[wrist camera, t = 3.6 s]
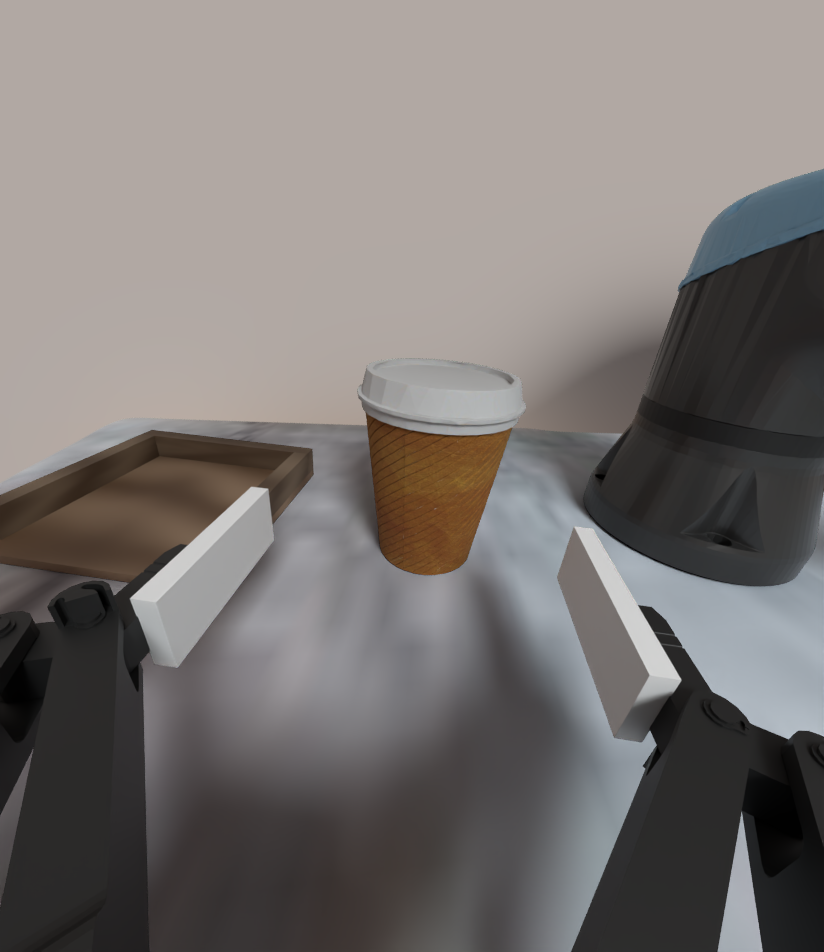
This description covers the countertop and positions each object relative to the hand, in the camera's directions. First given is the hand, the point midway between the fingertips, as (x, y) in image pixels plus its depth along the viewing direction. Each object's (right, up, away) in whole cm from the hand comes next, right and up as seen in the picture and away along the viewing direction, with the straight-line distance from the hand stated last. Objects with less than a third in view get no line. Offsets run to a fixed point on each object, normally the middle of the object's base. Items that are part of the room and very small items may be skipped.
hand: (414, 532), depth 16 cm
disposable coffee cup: (+1, -3, +10) cm, 10 cm away
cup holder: (-18, 0, +12) cm, 21 cm away
